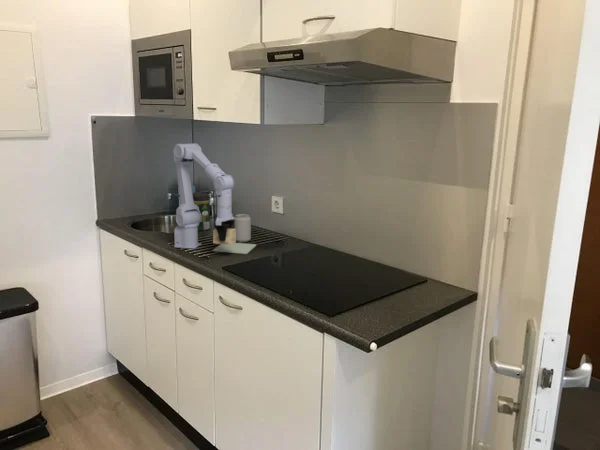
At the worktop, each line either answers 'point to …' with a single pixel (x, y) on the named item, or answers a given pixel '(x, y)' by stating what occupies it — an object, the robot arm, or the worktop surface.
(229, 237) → the birch block
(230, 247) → the rubber mat
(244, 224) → the can
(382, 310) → the worktop surface
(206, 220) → the coffee jar
